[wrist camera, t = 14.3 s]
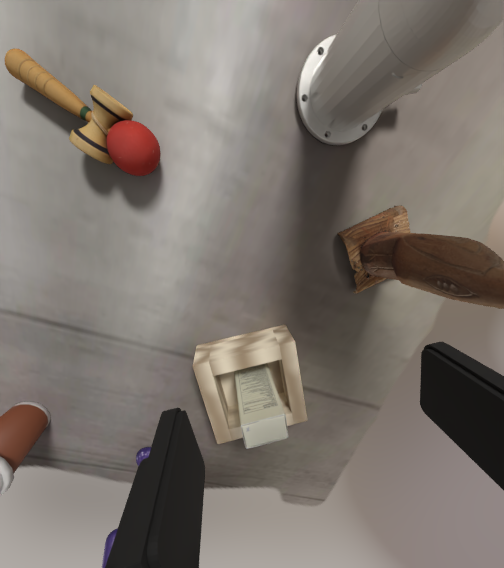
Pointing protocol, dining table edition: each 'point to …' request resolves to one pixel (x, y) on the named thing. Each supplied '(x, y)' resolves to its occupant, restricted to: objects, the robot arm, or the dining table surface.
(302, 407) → the holder
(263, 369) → the skincare box
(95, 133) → the kendama
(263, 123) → the dining table surface
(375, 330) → the dining table surface
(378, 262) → the bird sculpture
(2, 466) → the coffee cup
